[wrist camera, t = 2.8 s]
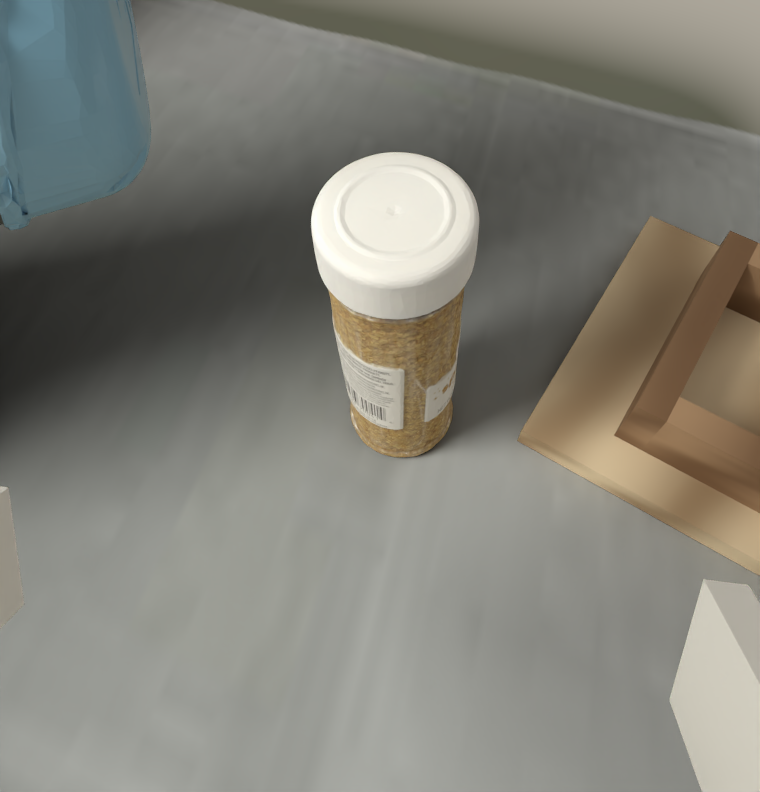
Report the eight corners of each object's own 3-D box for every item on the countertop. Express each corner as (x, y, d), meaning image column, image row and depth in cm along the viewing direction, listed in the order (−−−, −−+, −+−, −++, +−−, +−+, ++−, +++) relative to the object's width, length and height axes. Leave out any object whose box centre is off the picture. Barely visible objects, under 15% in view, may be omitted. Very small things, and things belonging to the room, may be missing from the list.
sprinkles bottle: (470, 434, 30) (514, 241, 17) (375, 477, 29) (350, 309, 17) (423, 350, 31) (432, 122, 19) (332, 390, 31) (282, 179, 18)
